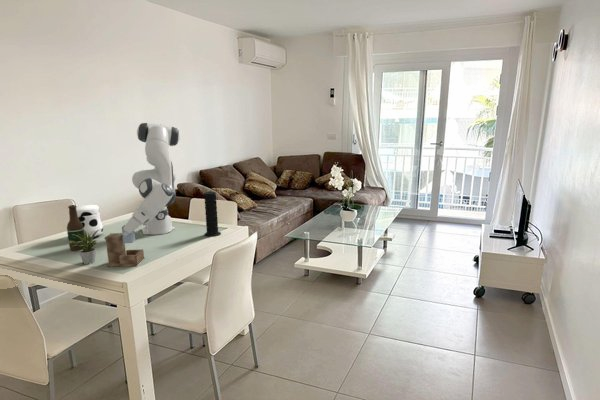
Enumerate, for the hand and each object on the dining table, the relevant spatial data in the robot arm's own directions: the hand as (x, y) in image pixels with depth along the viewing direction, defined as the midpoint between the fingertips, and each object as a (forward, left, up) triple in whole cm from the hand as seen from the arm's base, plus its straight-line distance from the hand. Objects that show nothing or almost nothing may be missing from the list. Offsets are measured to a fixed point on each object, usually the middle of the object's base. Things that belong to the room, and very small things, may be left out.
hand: (127, 233), depth 183 cm
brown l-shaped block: (-1, -2, -15) cm, 15 cm away
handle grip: (-18, +51, -15) cm, 57 cm away
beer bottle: (-41, -17, -15) cm, 46 cm away
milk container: (-62, -9, -15) cm, 64 cm away
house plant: (-15, -15, -15) cm, 26 cm away
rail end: (0, +1, -4) cm, 4 cm away
